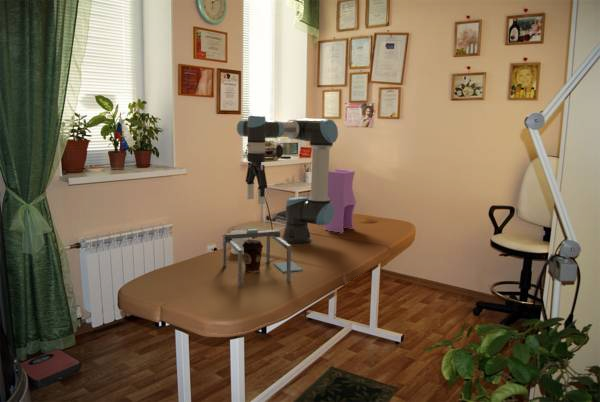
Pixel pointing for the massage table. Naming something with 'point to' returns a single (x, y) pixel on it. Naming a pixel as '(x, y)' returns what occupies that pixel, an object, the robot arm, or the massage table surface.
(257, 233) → the bar
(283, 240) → the frame
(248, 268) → the coffee cup
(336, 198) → the purple arched stand
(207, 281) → the massage table surface
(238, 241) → the mug
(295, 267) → the mat
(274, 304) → the massage table surface
